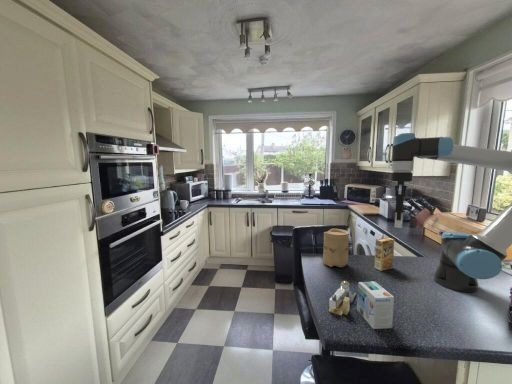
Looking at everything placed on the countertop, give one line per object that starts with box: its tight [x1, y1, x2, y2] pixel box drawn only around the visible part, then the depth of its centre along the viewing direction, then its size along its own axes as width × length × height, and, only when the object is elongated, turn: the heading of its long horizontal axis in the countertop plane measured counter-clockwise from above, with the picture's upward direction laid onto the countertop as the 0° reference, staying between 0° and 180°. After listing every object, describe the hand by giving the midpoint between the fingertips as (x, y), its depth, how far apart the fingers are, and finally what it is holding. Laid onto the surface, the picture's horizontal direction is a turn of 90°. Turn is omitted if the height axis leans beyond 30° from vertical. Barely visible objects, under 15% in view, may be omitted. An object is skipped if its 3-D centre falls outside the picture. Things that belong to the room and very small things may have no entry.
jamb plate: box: [336, 287, 357, 304], centre depth 92 cm, size 7×7×1 cm
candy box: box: [374, 237, 395, 272], centre depth 118 cm, size 9×4×15 cm, turn 113°
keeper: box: [328, 297, 351, 317], centre depth 85 cm, size 6×10×5 cm, turn 145°
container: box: [322, 228, 350, 268], centre depth 122 cm, size 13×13×18 cm
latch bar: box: [328, 280, 350, 310], centre depth 88 cm, size 15×3×5 cm, turn 140°
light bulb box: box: [356, 280, 395, 330], centre depth 78 cm, size 11×7×11 cm, turn 5°
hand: (398, 227), depth 97 cm, fingers closed
